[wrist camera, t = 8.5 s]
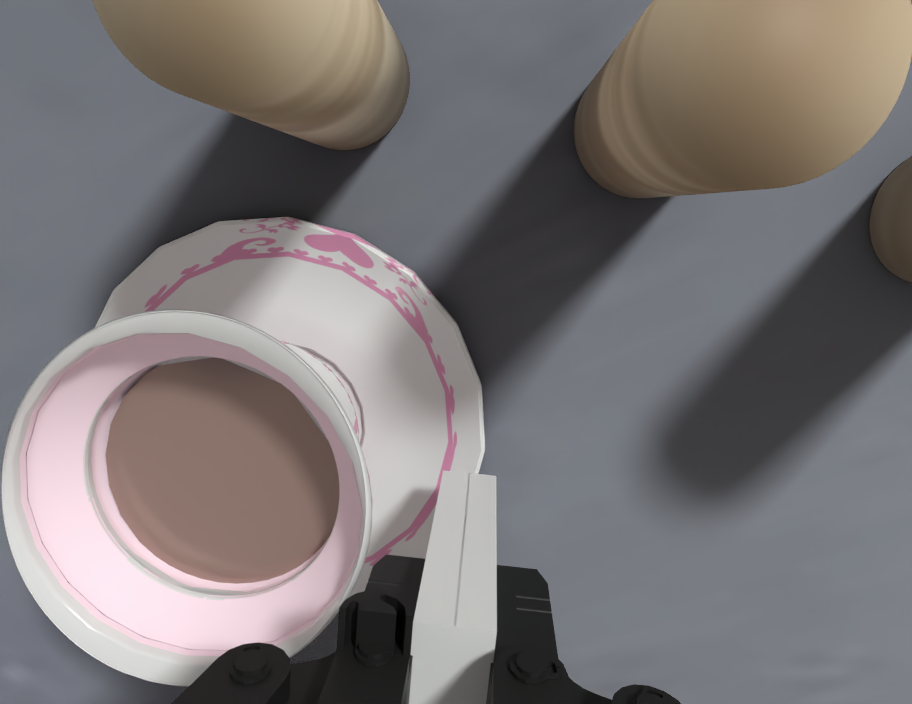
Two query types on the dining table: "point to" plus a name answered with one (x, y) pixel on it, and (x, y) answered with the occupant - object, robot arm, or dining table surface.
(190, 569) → the teacup
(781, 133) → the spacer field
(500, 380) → the dining table surface
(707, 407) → the dining table surface
